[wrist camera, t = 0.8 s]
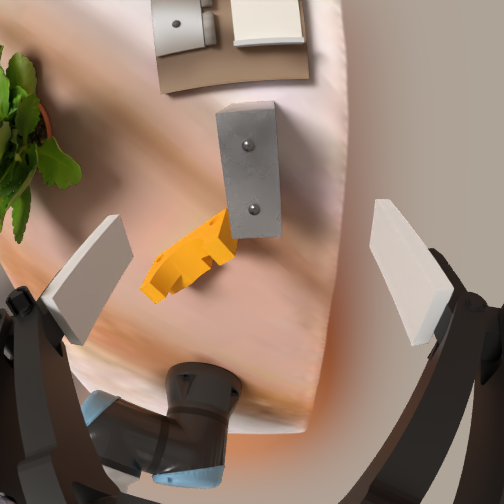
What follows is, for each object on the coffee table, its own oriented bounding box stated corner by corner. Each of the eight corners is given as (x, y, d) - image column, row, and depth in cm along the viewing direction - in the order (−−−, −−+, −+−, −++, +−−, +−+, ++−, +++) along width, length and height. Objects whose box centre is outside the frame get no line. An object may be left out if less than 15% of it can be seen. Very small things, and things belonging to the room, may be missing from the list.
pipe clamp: (178, 278, 38) (166, 312, 33) (156, 256, 36) (139, 289, 31) (249, 234, 33) (246, 268, 28) (226, 207, 32) (217, 237, 26)
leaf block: (278, 193, 30) (282, 237, 23) (241, 195, 31) (232, 239, 23) (272, 100, 25) (274, 108, 17) (231, 103, 25) (215, 113, 17)
